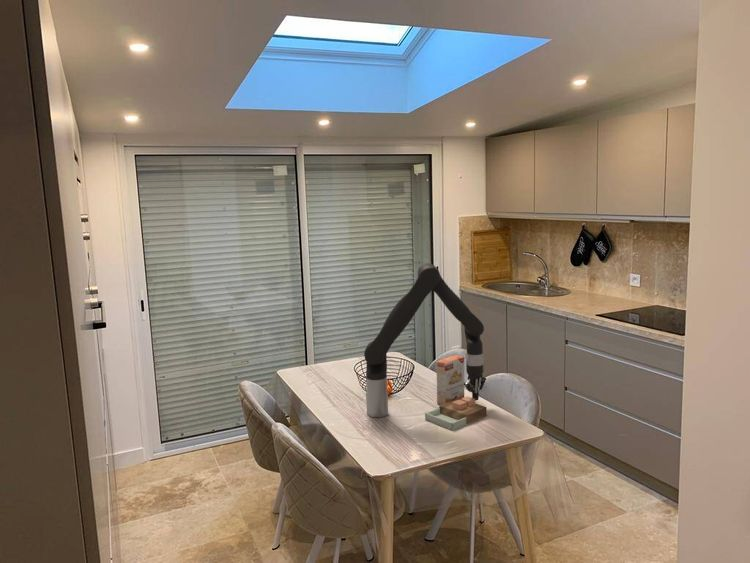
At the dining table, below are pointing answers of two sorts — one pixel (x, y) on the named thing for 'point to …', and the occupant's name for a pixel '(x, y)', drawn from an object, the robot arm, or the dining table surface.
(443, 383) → the cracker box
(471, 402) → the tile
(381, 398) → the robot arm
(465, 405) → the tile
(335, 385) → the dining table surface
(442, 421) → the tray
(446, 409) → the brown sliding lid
